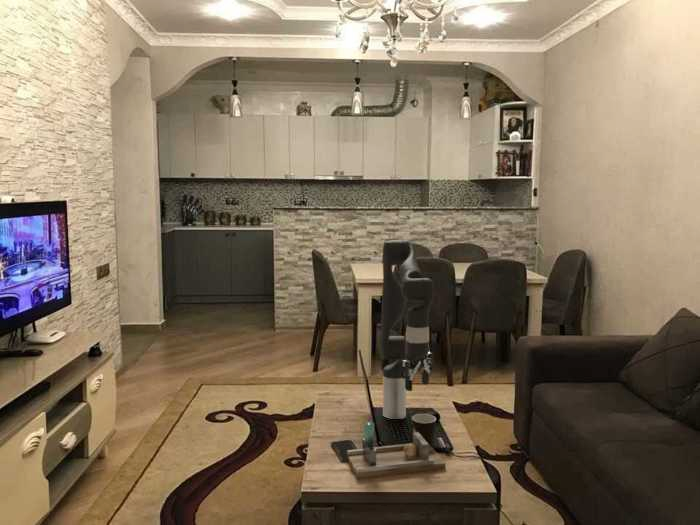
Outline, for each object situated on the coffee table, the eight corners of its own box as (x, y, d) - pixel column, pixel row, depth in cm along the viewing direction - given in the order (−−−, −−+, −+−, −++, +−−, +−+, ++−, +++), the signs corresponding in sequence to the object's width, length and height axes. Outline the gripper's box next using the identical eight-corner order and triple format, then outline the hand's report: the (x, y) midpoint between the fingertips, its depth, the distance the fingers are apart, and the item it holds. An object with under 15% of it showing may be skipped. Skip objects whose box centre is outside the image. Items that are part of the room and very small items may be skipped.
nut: (401, 454, 204) (402, 441, 204) (414, 452, 205) (414, 440, 205) (406, 459, 200) (406, 447, 199) (418, 458, 201) (418, 446, 200)
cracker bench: (346, 458, 206) (346, 436, 204) (429, 449, 212) (429, 428, 211) (357, 479, 191) (357, 455, 190) (445, 468, 198) (445, 445, 197)
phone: (350, 439, 219) (363, 457, 205) (350, 442, 219) (363, 460, 205) (330, 442, 217) (341, 460, 203) (330, 445, 217) (341, 463, 203)
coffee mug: (435, 451, 211) (435, 423, 210) (410, 449, 213) (410, 422, 211) (436, 437, 222) (437, 411, 221) (413, 435, 224) (413, 410, 223)
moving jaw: (361, 454, 204) (360, 418, 202) (370, 453, 204) (370, 417, 203) (368, 467, 194) (368, 430, 192) (378, 466, 195) (378, 429, 193)
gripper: (422, 333, 202) (421, 379, 204) (394, 341, 192) (394, 389, 194) (440, 337, 196) (439, 384, 198) (412, 345, 186) (412, 395, 188)
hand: (417, 387), depth 196 cm, fingers open, 8 cm apart
